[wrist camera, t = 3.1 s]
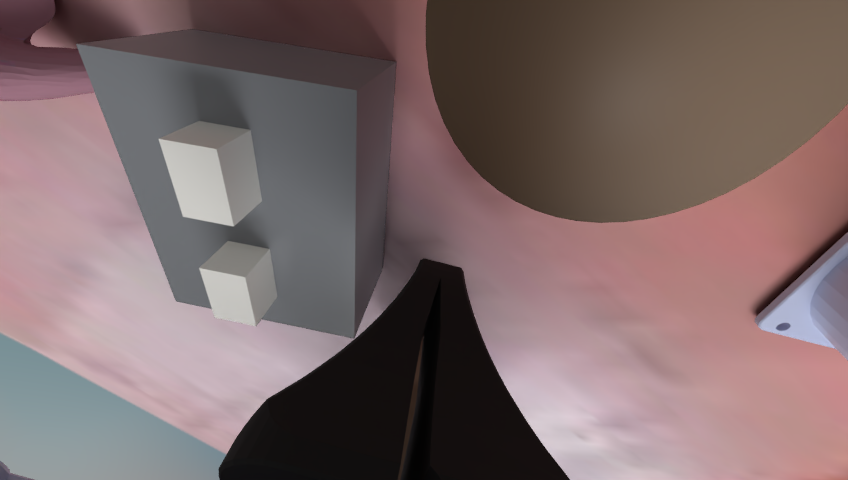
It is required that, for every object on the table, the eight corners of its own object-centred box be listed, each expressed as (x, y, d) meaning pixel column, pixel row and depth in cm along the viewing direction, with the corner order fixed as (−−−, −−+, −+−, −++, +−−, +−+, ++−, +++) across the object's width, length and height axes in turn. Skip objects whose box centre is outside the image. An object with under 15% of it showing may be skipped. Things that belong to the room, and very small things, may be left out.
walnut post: (643, -67, 10) (1177, -277, 2) (576, 90, 13) (716, 257, 5) (494, -102, 11) (497, -427, 2) (457, 61, 13) (396, 176, 5)
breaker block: (397, 60, 14) (335, 106, 8) (383, 265, 19) (341, 370, 14) (196, 28, 14) (12, 51, 9) (241, 237, 20) (147, 329, 14)
